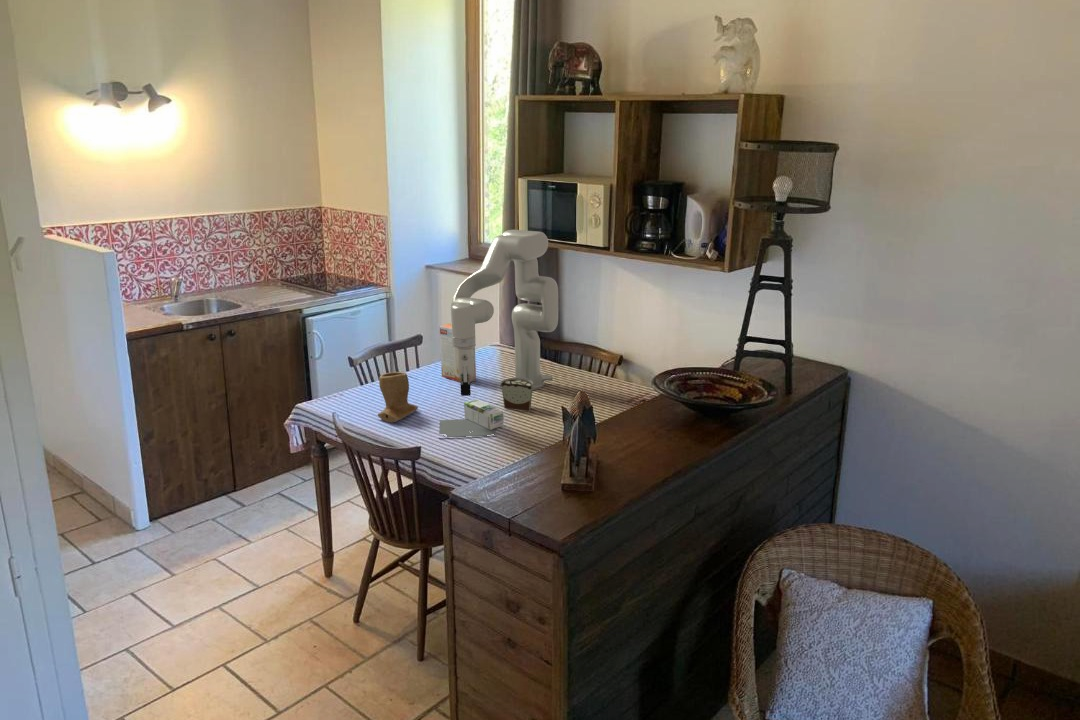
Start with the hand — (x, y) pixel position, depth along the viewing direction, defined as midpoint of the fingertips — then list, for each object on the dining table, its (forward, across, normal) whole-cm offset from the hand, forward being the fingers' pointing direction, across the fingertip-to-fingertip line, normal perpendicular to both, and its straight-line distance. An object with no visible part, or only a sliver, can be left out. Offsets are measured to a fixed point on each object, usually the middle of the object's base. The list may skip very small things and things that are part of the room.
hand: (465, 394), depth 261 cm
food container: (+10, +13, -19) cm, 25 cm away
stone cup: (+10, +10, +24) cm, 28 cm away
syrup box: (+7, +5, -1) cm, 8 cm away
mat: (+10, -5, 0) cm, 11 cm away
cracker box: (+10, +47, +2) cm, 48 cm away
